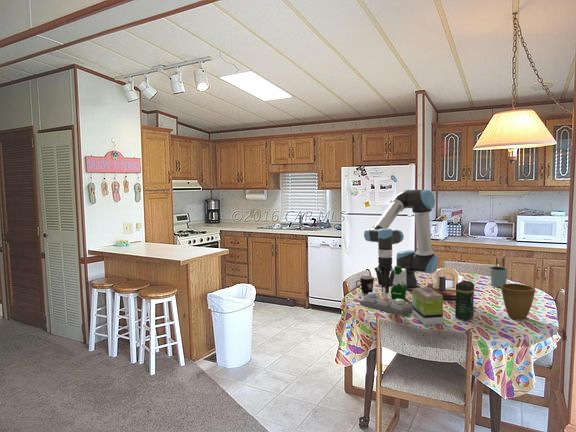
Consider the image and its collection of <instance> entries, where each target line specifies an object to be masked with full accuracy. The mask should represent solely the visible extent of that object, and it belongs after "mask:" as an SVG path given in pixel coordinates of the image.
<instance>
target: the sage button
mask: <svg viewBox="0 0 576 432" xmlns="http://www.w3.org/2000/svg"><path fill="white" fill-rule="evenodd" d="M394 302H395V304H398V305H403V304H404V302H405V299H404V300H403V299H395V300H394Z"/></svg>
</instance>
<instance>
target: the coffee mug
mask: <svg viewBox="0 0 576 432" xmlns="http://www.w3.org/2000/svg"><path fill="white" fill-rule="evenodd" d="M359 279H360V280H356V281H355V286H356V287H357V288H358V289H360V290H361V293H362V294H363V293H364V294H363V295H368V293H369V292H374V291H373V290H374V279H375V277H374V276H372V275H362V276H360V278H359ZM358 282H360V286H359V285H358Z"/></svg>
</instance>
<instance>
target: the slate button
mask: <svg viewBox="0 0 576 432" xmlns="http://www.w3.org/2000/svg"><path fill="white" fill-rule="evenodd" d="M367 295H368V297H370V298H376V295H377V292H374V291H372V292H369V293H368V294H367Z"/></svg>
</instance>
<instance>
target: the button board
mask: <svg viewBox="0 0 576 432" xmlns="http://www.w3.org/2000/svg"><path fill="white" fill-rule="evenodd" d="M381 298H382V296H380V295H377V294H376V298H370V297H368V294H366V295H364V296H363V299H361V300H359V305H361V306H365V307H369V308H373V309H377V310H380V311H383V312H388V313H392V314H396V315H400V316H402V317H403V316H405V315H407V314H409V313H411V312H412V306H409V302H406V301H404V304H403V305H398V304H395V300H394V299H391V298H390V301H387V302H386V301H382V300H381Z"/></svg>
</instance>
